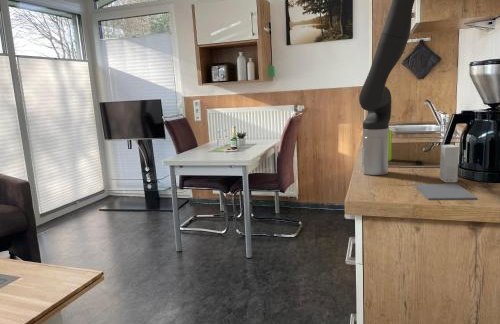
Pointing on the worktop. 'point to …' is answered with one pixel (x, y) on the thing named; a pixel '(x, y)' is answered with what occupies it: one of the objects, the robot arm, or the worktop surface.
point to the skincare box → (449, 163)
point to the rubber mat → (444, 192)
